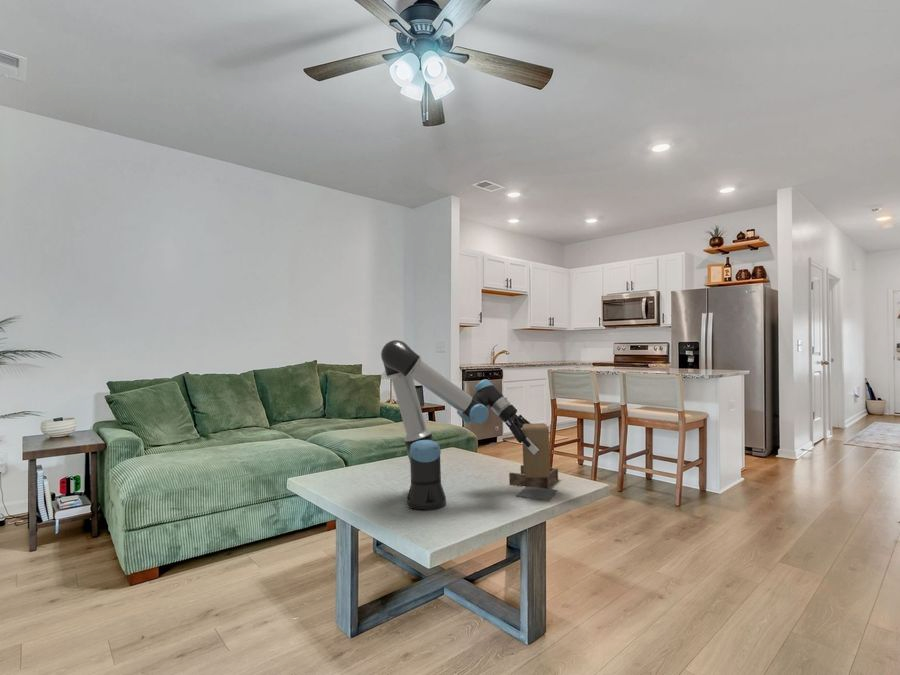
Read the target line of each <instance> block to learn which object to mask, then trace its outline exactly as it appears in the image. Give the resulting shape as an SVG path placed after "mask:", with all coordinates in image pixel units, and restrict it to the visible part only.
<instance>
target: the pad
mask: <svg viewBox="0 0 900 675" xmlns="http://www.w3.org/2000/svg"><path fill="white" fill-rule="evenodd" d="M556 492H557V493H558V489H554V488H549V489H546V488H537V487H528V486H527V487H524V488H523V489H522V490H520V491H519V492H518V493H517V494H515V496H516V498H519V497H521V498H520V499H527V498H529V499H528V500H535V499H536V500H535V501H543V502H549V501H550V500H551V499H552V498H553V497H554V496H555V495H556V494H557V493H556ZM555 493H556V494H555Z"/></svg>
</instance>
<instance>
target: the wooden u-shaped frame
mask: <svg viewBox="0 0 900 675" xmlns="http://www.w3.org/2000/svg"><path fill="white" fill-rule="evenodd" d="M508 476H509V479H508V480H509V481H508V482H509V485H510V486H515V485H517V486H518V487H523V486H525V487H527V486H528V487H537V488H546V489H548V488H549V489H550V488H551V487H552V486H553V485H554V484H553V483H554V482H555V481H556V480H558V481H559V468H555V467H554V468H553V467H550V477H548V478H527V477H525V474H524V469H523V464H521V465H520V473H519V472H509V474H508ZM556 482H557V481H556ZM556 482H555V483H556ZM525 487H524V488H525Z"/></svg>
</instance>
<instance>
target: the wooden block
mask: <svg viewBox="0 0 900 675" xmlns="http://www.w3.org/2000/svg"><path fill="white" fill-rule="evenodd" d="M521 429H522V431H523V433H524V435H525V437H526V438H528V439H529V440H530V441H531V442H532V443H533V444H534V445H535V446H536V447H537V448H538V449H539V450H538V451H537V452H536V453H535V454H533V453H532V452H531V451H530V450H529V449H528V448H527V447H526V446H525V445H524V444H523V443H522V461H523V462H522V463H523V464H522V465H523V469H524V474H525V477H527V478H548V477H550V468H551V461H550V460H551V459H550V432H549V431H550V429H549V427H548V426H547V424H546V423H531V424H523V425H522V428H521ZM526 438H525V439H526Z"/></svg>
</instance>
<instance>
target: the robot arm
mask: <svg viewBox="0 0 900 675" xmlns="http://www.w3.org/2000/svg"><path fill="white" fill-rule="evenodd" d="M380 355H381V356H380V357H381V360H382V363H383V367H384V370H385V373H386V377H388V378H389V379H391V382H392V386H393V390H394V393H395V397H396V401H397V404H398V408H399V412H400V415H401V419H402V423H403V427H404V430H405V435H406V436H405V437H404V440H403V441H404V443H405V444H404V445H405V448H406V451H407V457H408V460H409V464H410V487H409V489H408V493H407V497H406V506H407V505H408V506H409V507H412V508H415V509H414V510H416V509H426V510H425V511H428V510H427V509H432V510H436V509H437V510H438V509H440V507H441V508H443V507H444V506H445V505H447V496H446V494H445V490H444V487H443V484H442V474H441V473H442V472H441V468H442V467H441V446H440V444H439V442H437V441H434V438H433V434H432V431H431V430H429V429H428V428H427V425H426V422H425V417H424V414H423V412H422V411H423V410H422V407H421V404H420V400H419V395H418V393H417V389H416V385H415V382H414V381H416V382H417V383H419V384H420V385H421V386H423V387H424V388H425V389H427V390H428V391H430V392H431V393H432V394H434V395H435V396H437V397H438V398H440V399H441V400H443V401H444V402H445V403H446V404H448V405H449V406H451V407H453V408H454V409H456V414H457V415H458V416H459V417H460V419H462V420H463V421H464V422H465V424H470V423H471V422H473V423H474V424H484V423H485V422H486V421H488V419H489V416H490V413H489V409H488V407H489V408H490V409H491V410H492V411H493V413H494V414H496V416H498V417H499V419H500V420H501V421H502V422H503V423H505V425H506V426H507V427H508V428H509V430H510V431H511V433H512V434H513V436H514V438H515V439H516V441H517V442H518V443H519V444H522V445H523V444H524V445H525V446H526V447H527V448H528V449H529V450H530V451H531V452H532V453H533V454H535V453H536V452H537V451H538V450H539V449H538V448H537V447H536V446H535V445H534V444H533V443H532V442H531V441H530V440H529V439H528V438H526V437H525V435H524V433H523V431H522V425H523V424H532V423H531V422H530V421H528V420H527V419H526V418H525V417H523V415H522V414H519V415H517V412H518V409H517V408H516V407H515V406H514V405H513V404H511V402H510V401H509V400H508V397H505V395H503V393H501V391H500V390H499V389H498V388H497V387H496V386H495V384H493V383H492V382H491V381H490V380H489V379H486V378H485V379H482V380H480V381H479V382H478V383H477V384H476V385H475V386H474V389H473V390H474V392H475V393H474V394H473V395H470V394H468V393H467V392H466V391H464V390H463V389H462V388H461V387H459V386H457V385H456V384H455V383H453V382H452V381H451V380H449V379H448V378H447V377H445V376H444V375H443V374H441V373H439V372H438V371H436V370H435V369H434V368H432V367H431V366H429V365H428V364H427V363H425V362H424V361H423V360H422V358H421V355H419V354H417V353H416V352H415V351H414V350H413V349H411V347H410V346H409V345H408V344H407V343H406V342H404V341H402V340H397V339H393V340H390V341H387V343H385V345H384V346H383V347H382V349H381V353H380ZM525 438H526V439H525ZM408 506H407V507H408ZM409 507H408V508H409ZM412 508H411V509H412Z"/></svg>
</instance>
